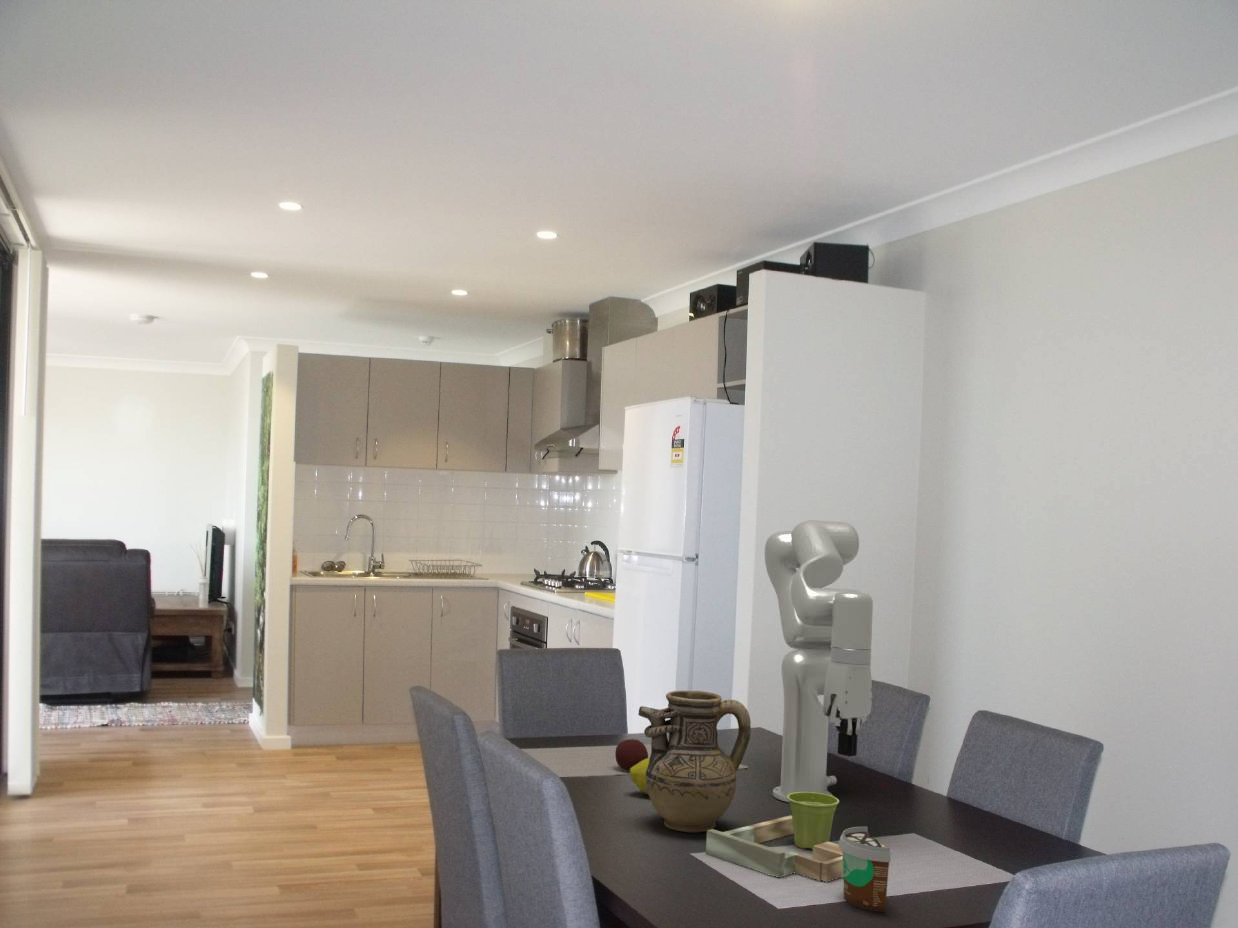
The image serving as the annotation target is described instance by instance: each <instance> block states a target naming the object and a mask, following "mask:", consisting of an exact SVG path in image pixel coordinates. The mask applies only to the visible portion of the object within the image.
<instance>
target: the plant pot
mask: <svg viewBox="0 0 1238 928" xmlns="http://www.w3.org/2000/svg"><path fill="white" fill-rule="evenodd" d="M787 799H788V800H789V802H788V803H789V807H790V809H791V815H792V821H793V831H794V834H793V839H794V840H793V841H794V845H795V846H797V847H798V848H800V849H804V850H805V849H810V850H812V851H813V846H814V845H818V844H821V843H825V842H830V838H831V831H832V825H833V821H834V815H835V812H836V810H837V807H838V805H839V804H840V800H839V798H837V797H835V796H834V795H833V796H831V795H827V794H823V793H816V792H795V793H791V794H789V795H787Z"/></svg>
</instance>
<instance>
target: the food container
mask: <svg viewBox="0 0 1238 928" xmlns="http://www.w3.org/2000/svg"><path fill="white" fill-rule="evenodd" d="M868 831H869V830H868V826H854V827H849V828H846V829H844V830H843V831H842V833H841V835H840V838H839V842H838V846H839V848H840V849H841V850H842V851H843V877H842V879H843V899H844V901H845V900H846V901H847V902H846V901H845V902H846V903H848V904H849V903H850V904H849V905H851V904H852V906H854V907H856V906H857V908H860V909H863V910H867V911H873V912H874V911H875V912H886V907H887V895H888V894H887V893H888V881H889V867H890V866H889V865H890V863H891V848H890V847H886V846H885V847H882V846H881V845H880V844H881V843H880V842H879V840H878V839H876V838H875V837H872V836H871V835H870V833H868Z"/></svg>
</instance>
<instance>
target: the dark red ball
mask: <svg viewBox="0 0 1238 928" xmlns="http://www.w3.org/2000/svg"><path fill="white" fill-rule="evenodd" d="M614 753H615V761H616V765H618V766H619V768H621V769H622V770H625V771H628V770H629V771H628V772H630V768H631V767H633V766H634V765H636V764H638V763H639V762H641V761H642V760H644V759H647V758H649V752H648V750H647V748H646V745H645V744H644V743H643V742H642V741H641V740H639V739H634V738H632V739H631V738H630V739H624V740H622V741H621V742H619V743H618V744H617V746H616V748H615V752H614Z"/></svg>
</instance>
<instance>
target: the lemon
mask: <svg viewBox="0 0 1238 928" xmlns="http://www.w3.org/2000/svg"><path fill="white" fill-rule="evenodd" d="M649 759H650V757H648V758H647V759H644V760H642V761H641V762H639V763H638V764H636V765H634V766H633V767H631V768H630V771H629V775H630V777H629V778H630V781H632V782H633V783H634V784H635V786H636V787H637V789H639V790H640V791H641V792H642V793H645V794H647V795H649V794H648V790H647V786H646V770H647V767H648V764H649Z"/></svg>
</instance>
